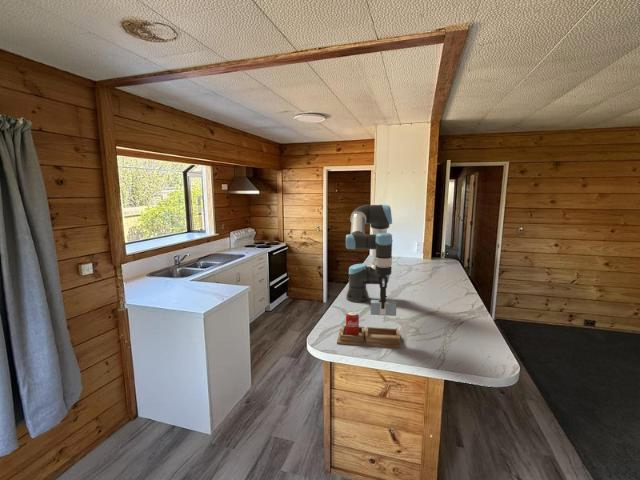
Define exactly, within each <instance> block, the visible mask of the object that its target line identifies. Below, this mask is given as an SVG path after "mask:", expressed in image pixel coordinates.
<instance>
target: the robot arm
mask: <svg viewBox="0 0 640 480" xmlns="http://www.w3.org/2000/svg"><path fill="white" fill-rule="evenodd" d="M349 220H350V223H351V225H350V234H346V235H345V249H348V250H371V251H372V252H371V253H372V255H371V257H372V261H371V262H370V264H369V266H367V264H366V263H357V264H356V263H355V264H353V265H350V266H349V267H348V289H347V292H346V295H345V299H346V300H347V301H349V302H353V303H364V302H367V301H369V298H370V295H369V292H368V288H367V285H379V288H380V289H379V291H380V292H379V300H380V301H379V302H380V315H379V316H387V315H386V301H387V298H388V295H387V288H388V284H389V281H390V276H391V275H392V269H393V267H392V264H393V255H392V251H393V234H392V233H389V232H387V231H388V229H390V225H392V224H393V218H392V209H391V207H390V205H388V204H364V205H361V206H358V207H356V208H355V209H354V210H353V211H352V212H351V214H350V219H349ZM366 225H370V228H371V229H372V234H370V233H369V234H368V233H367V234H366V232H365V231H366V229H365V227H366Z"/></svg>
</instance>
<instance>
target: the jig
mask: <svg viewBox="0 0 640 480" xmlns="http://www.w3.org/2000/svg"><path fill="white" fill-rule="evenodd" d="M336 344H337V345H348V346H360V347H361V346H363V347H373V348H374V347H375V348H387V349H389V348H391V349H402V345H401V336H400V331H399V329H398V328H389V327H387V328H386V327H371V326H366V327H365V326H359V335H358V336H356V335H346V325H343V324H342V325H341V328H339V332H338V336H337V340H336Z"/></svg>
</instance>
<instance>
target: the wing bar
mask: <svg viewBox="0 0 640 480" xmlns="http://www.w3.org/2000/svg"><path fill="white" fill-rule="evenodd" d="M379 301H380V299H371V300H370V315H371V316H381V315H380V302H379ZM385 316H388V317H389V316H391V317H394V316H395V317H396V316H397V301H396V300H386V315H385Z"/></svg>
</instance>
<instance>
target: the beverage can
mask: <svg viewBox="0 0 640 480" xmlns="http://www.w3.org/2000/svg"><path fill="white" fill-rule="evenodd" d="M359 316H360V315H359V314H358V312H357V311H354V310H353V311H352V310H350V311H348V312H347V313H346V315H345V326H346V335H356V336H358V335H359V327H360V325H359V321H360V320H359Z"/></svg>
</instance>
